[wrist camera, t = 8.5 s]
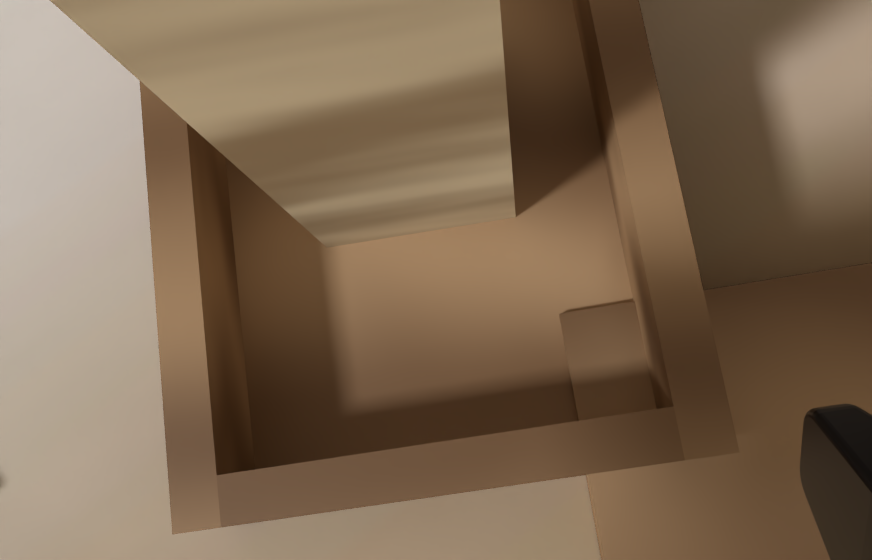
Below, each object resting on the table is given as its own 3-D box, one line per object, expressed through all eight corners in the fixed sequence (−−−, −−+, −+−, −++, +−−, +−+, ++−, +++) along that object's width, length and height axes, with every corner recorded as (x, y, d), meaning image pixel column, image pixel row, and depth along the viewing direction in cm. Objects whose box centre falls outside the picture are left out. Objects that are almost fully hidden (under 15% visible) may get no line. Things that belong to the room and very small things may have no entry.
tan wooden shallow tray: (704, 448, 17) (739, 452, 14) (230, 517, 18) (172, 534, 15) (573, -163, 20) (580, -261, 18) (178, -76, 21) (122, -156, 18)
